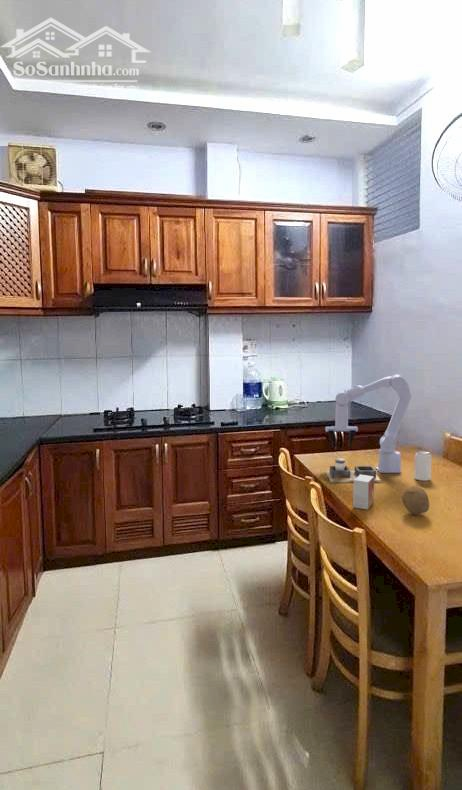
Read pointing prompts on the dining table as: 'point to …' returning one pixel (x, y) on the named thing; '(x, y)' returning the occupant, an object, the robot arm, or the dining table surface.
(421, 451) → the can
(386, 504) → the dining table surface
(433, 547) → the dining table surface
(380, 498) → the dining table surface
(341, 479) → the socket panel
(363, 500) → the small box
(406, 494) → the natural sponge
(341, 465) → the small lidded jar
